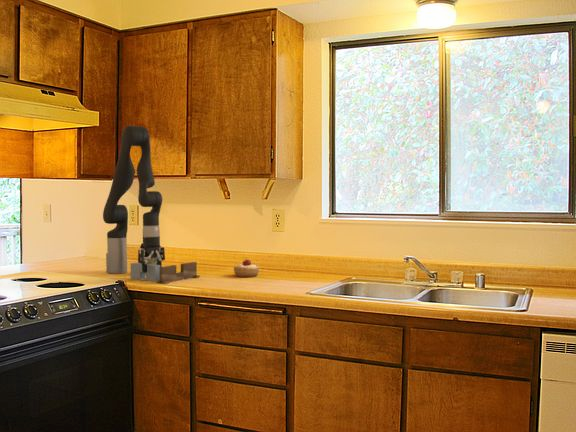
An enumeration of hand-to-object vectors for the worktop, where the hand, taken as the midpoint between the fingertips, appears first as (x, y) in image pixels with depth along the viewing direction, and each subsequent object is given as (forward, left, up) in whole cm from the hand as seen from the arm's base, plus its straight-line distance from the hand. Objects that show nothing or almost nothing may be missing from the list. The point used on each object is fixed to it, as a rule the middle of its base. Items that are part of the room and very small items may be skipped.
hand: (152, 271), depth 280 cm
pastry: (+28, +34, -4) cm, 44 cm away
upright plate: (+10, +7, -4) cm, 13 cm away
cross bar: (-4, 0, -4) cm, 6 cm away
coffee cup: (-13, +12, -4) cm, 18 cm away
